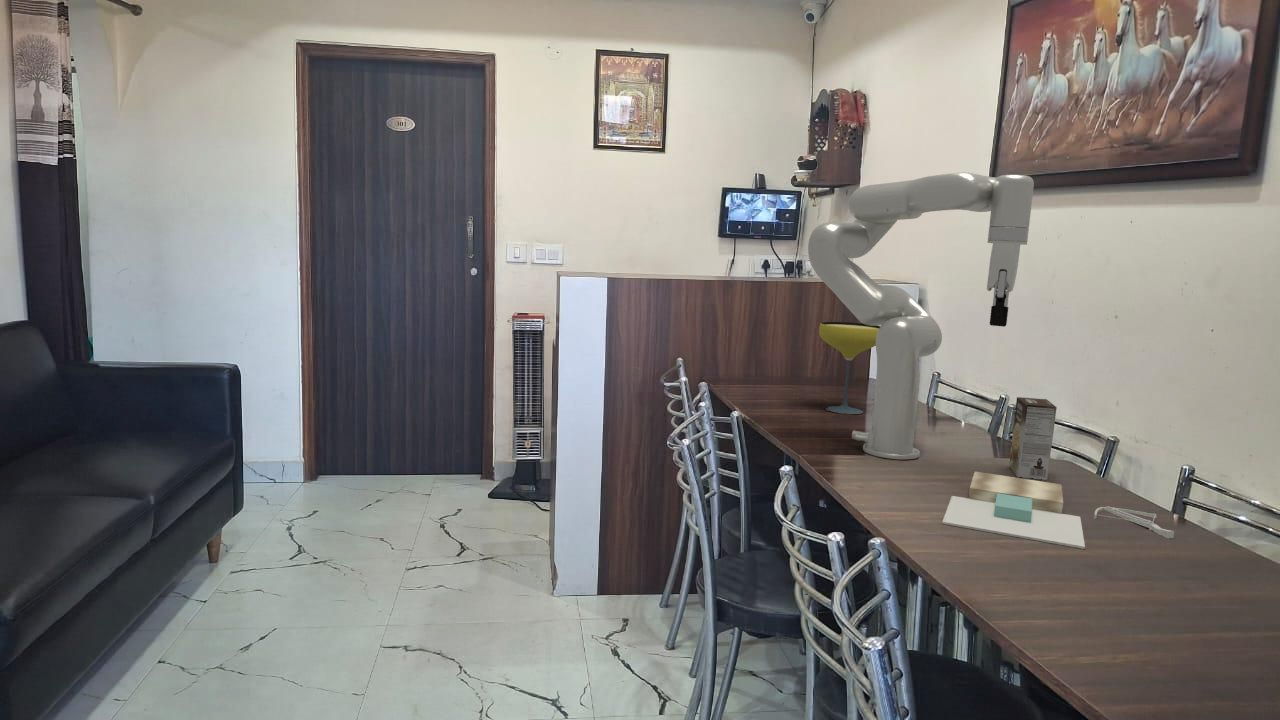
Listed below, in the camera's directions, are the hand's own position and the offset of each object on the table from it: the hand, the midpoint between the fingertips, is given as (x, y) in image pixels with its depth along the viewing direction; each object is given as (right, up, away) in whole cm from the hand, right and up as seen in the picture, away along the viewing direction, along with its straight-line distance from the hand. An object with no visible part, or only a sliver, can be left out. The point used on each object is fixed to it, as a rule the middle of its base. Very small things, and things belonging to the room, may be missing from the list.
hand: (997, 325), depth 177 cm
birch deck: (-2, -34, -12) cm, 36 cm away
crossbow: (+15, -37, -23) cm, 46 cm away
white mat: (-8, -36, -26) cm, 45 cm away
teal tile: (-7, -35, -23) cm, 42 cm away
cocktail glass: (-15, -22, +69) cm, 74 cm away
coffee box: (+10, -32, +8) cm, 34 cm away
